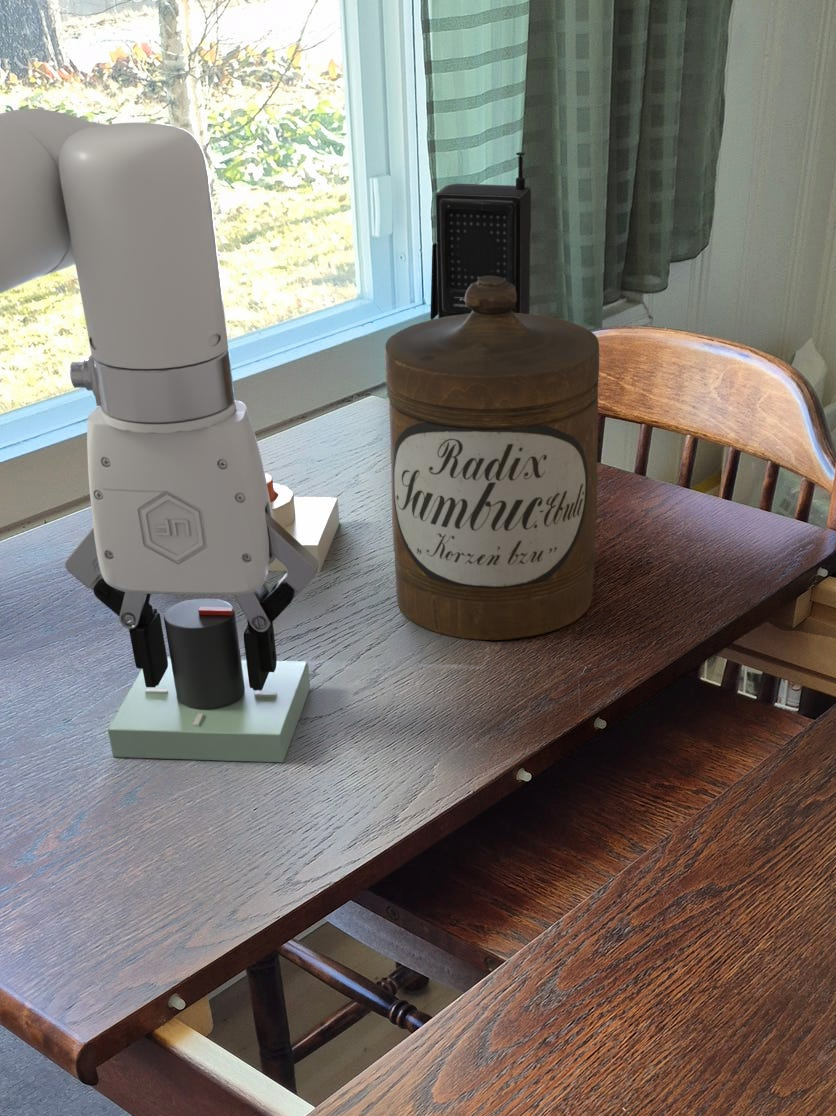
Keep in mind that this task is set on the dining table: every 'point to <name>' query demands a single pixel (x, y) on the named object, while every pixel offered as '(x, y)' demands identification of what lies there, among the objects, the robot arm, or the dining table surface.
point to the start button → (270, 487)
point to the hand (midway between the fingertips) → (208, 676)
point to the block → (305, 522)
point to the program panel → (212, 720)
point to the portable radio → (480, 242)
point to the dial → (204, 653)
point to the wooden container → (493, 468)
